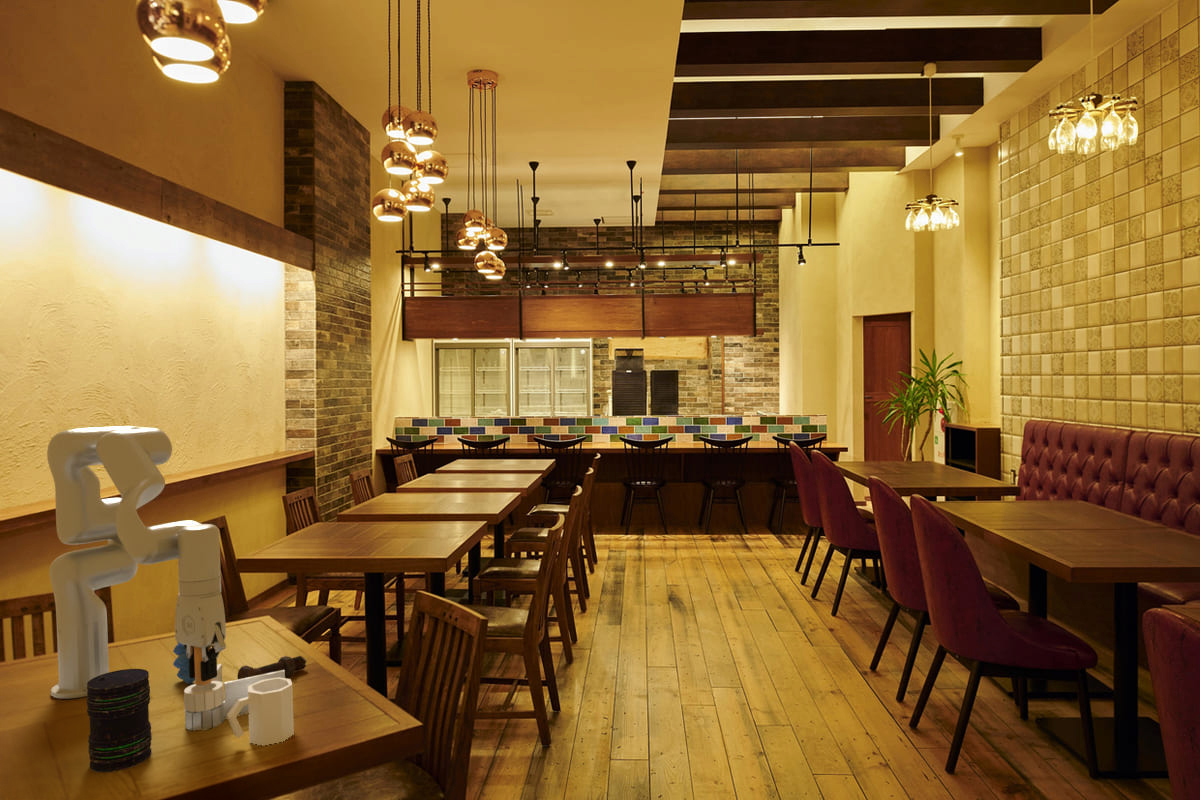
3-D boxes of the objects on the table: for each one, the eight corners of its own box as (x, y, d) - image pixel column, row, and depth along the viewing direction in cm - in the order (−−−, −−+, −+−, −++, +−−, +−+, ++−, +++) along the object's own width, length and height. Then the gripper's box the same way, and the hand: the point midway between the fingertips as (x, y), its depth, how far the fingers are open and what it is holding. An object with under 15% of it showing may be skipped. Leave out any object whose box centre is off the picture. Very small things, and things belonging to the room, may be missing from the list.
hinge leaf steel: (183, 721, 159) (182, 686, 159) (281, 699, 170) (280, 665, 169) (187, 733, 153) (186, 696, 153) (289, 709, 164) (288, 675, 164)
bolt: (305, 678, 187) (245, 697, 175) (294, 664, 190) (234, 682, 178) (312, 659, 185) (252, 677, 173) (301, 645, 188) (241, 662, 176)
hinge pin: (194, 686, 156) (192, 641, 156) (196, 681, 159) (194, 637, 159) (211, 684, 157) (209, 639, 157) (212, 678, 160) (211, 635, 160)
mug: (283, 722, 157) (281, 674, 157) (302, 735, 151) (301, 684, 151) (220, 743, 149) (219, 692, 149) (239, 757, 143) (237, 704, 143)
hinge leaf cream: (219, 726, 156) (218, 691, 155) (181, 731, 154) (180, 695, 154) (237, 694, 172) (236, 662, 172) (203, 697, 171) (202, 665, 171)
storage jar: (162, 746, 148) (160, 667, 148) (133, 771, 139) (130, 687, 138) (109, 748, 148) (106, 669, 148) (76, 773, 138) (73, 689, 138)
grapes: (220, 682, 180) (218, 631, 180) (190, 692, 175) (188, 638, 175) (197, 672, 187) (195, 622, 187) (167, 681, 182) (165, 629, 182)
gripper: (157, 587, 158) (160, 677, 159) (209, 595, 150) (212, 690, 151) (191, 578, 165) (194, 665, 165) (243, 586, 157) (246, 677, 157)
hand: (203, 676), depth 158 cm, fingers closed on hinge pin, 3 cm apart
